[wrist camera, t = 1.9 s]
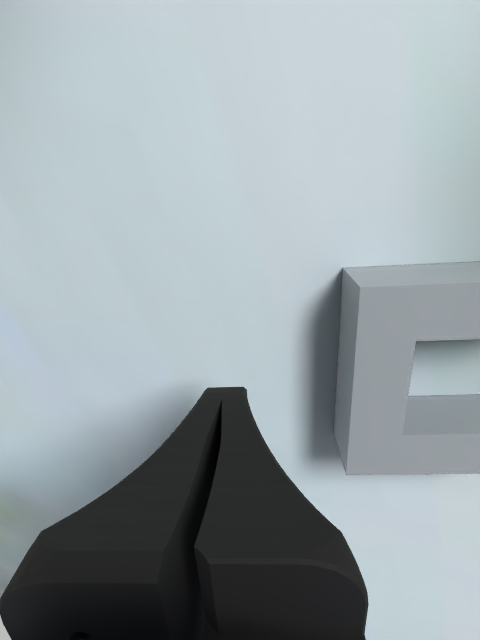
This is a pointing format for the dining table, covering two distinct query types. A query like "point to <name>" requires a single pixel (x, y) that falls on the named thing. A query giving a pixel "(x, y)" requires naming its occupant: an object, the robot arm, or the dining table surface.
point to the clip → (404, 370)
